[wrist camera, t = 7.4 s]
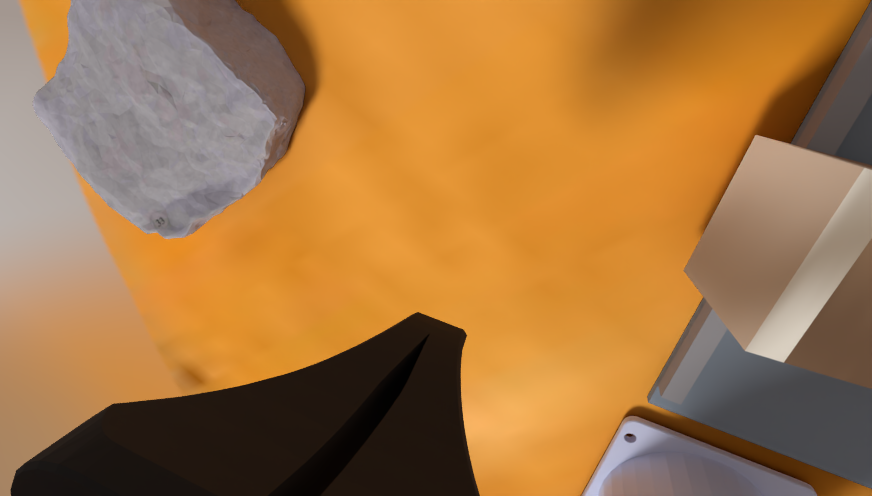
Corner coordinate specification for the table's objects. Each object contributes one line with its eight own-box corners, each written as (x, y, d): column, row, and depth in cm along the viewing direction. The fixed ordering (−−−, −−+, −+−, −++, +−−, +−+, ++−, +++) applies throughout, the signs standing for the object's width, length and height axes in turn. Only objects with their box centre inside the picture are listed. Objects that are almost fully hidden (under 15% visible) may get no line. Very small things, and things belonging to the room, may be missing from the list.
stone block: (348, 91, 21) (171, -85, 19) (305, 117, 17) (73, -103, 15) (233, 232, 27) (86, 110, 25) (180, 276, 23) (-2, 135, 21)
